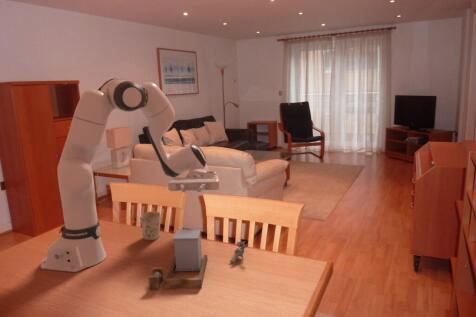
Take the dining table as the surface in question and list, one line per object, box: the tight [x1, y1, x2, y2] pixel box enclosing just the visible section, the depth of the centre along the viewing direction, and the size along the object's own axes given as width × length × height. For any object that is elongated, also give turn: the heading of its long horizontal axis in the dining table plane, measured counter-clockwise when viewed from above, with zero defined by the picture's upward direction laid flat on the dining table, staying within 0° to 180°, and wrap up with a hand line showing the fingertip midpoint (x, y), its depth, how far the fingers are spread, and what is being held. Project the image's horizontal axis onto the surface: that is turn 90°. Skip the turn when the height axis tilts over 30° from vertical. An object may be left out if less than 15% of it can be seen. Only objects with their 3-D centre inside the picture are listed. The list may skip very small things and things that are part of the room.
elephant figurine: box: [228, 241, 249, 264], centre depth 130 cm, size 10×6×9 cm
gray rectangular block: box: [172, 228, 203, 272], centre depth 125 cm, size 8×7×12 cm
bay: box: [148, 254, 208, 291], centre depth 121 cm, size 16×19×4 cm
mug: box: [139, 210, 161, 241], centre depth 148 cm, size 8×13×10 cm, turn 174°
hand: (191, 190), depth 134 cm, fingers open, 5 cm apart
